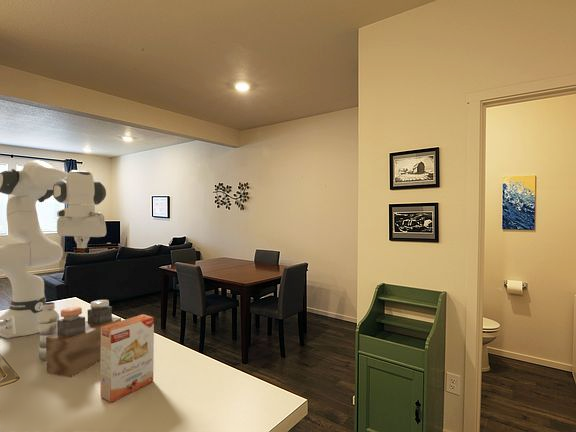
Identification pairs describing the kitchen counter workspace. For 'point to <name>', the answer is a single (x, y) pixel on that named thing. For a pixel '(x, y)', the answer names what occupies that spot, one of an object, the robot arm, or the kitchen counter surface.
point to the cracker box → (126, 356)
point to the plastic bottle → (47, 326)
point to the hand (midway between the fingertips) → (82, 248)
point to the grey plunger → (99, 304)
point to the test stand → (77, 343)
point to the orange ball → (71, 313)
